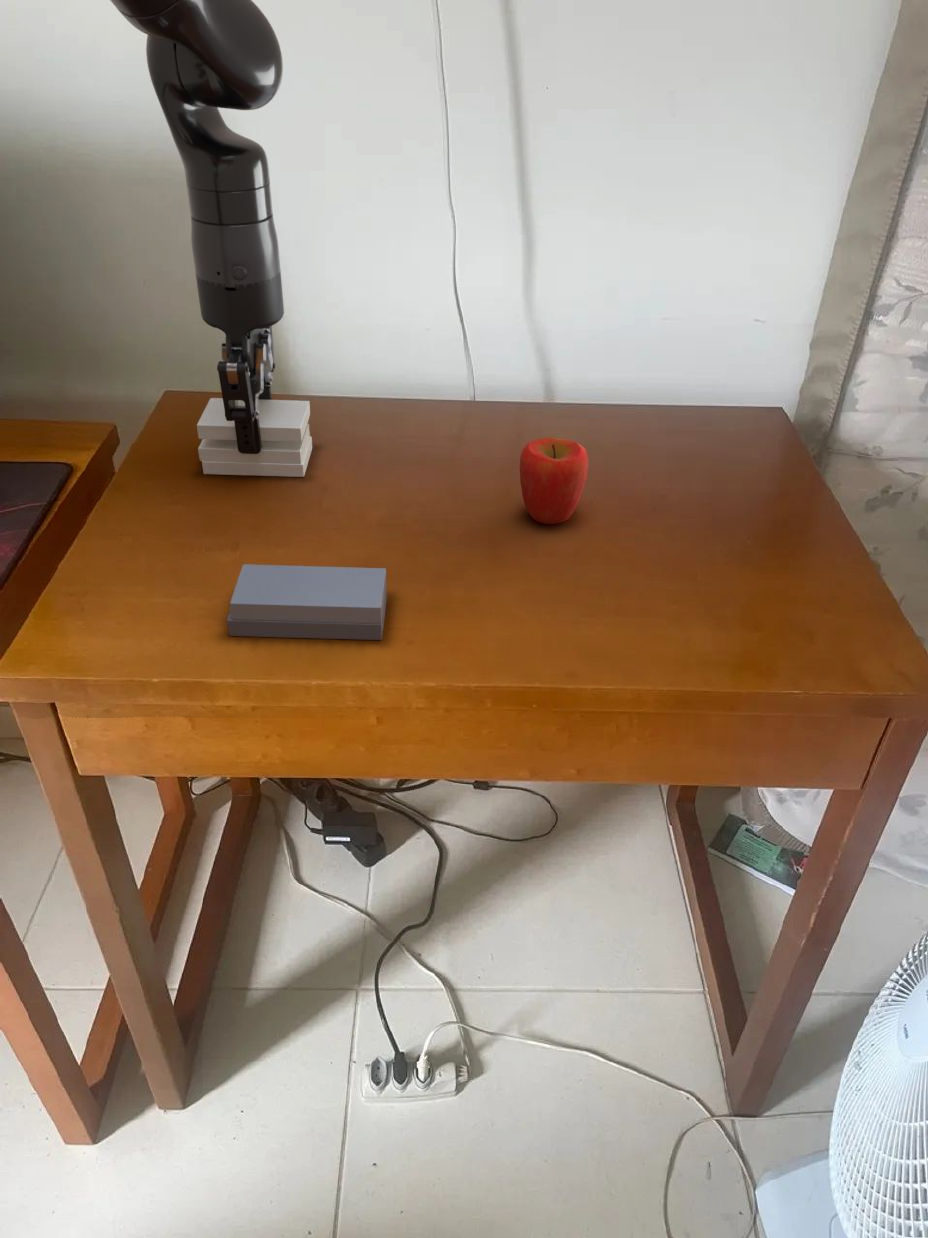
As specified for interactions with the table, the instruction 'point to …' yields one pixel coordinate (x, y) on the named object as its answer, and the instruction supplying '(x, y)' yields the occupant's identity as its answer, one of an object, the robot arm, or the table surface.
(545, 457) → the apple
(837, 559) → the table surface
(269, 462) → the white books
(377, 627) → the grey books
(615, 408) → the table surface
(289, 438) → the white book
